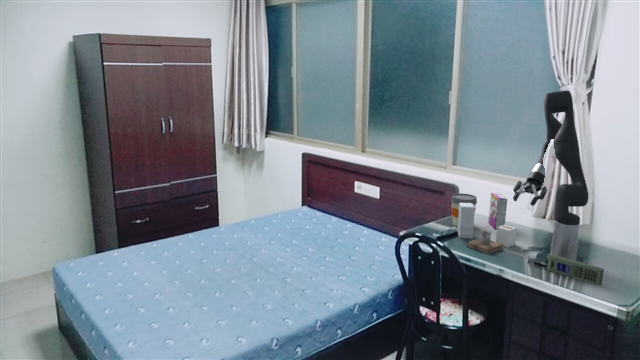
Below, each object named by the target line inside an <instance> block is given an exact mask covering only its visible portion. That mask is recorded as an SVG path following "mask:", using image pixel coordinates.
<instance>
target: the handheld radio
mask: <svg viewBox="0 0 640 360" xmlns="http://www.w3.org/2000/svg"><path fill="white" fill-rule="evenodd" d="M546 255H547V256H546V259H547V260H546V261H545V263H546V264H544V263H540V262H537V261H533V265H534V266H537V267H541V268H545V269H546V270H547V271H548V272H552V273H555V274H558V275H562V276H565V277H568V276H569V277H568V278H573V279H576V280H579V281H582V282H585V281H586V283H589V284H592V283H593V285H595V284H596V286H599V285H600V286H601V285H602V282H603V277H604V271H605V268H603V267H599V266H595V265H592V264H588V263H584V262H580V261H577V260H576V261H574V260H570V259H566V258H563V257H559V256H555V255H551V254H550V253H547V254H546Z"/></svg>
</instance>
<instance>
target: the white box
mask: <svg viewBox="0 0 640 360" xmlns="http://www.w3.org/2000/svg"><path fill="white" fill-rule="evenodd" d="M517 230H518V228H517V227H515V226H510V225H507V224H505V225H502V226H499V227H497V230H496V237H495V242H498V243H501V244H503V247H505V248H510V247H512V246H515V245H516V238H517Z"/></svg>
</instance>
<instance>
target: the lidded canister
mask: <svg viewBox="0 0 640 360" xmlns="http://www.w3.org/2000/svg"><path fill="white" fill-rule="evenodd" d="M477 197H478V196H476V195H473V194H470V193H462V192H461V193H453V194H452V195H451V200H450V201H451V206H450V207H451V209H450V211H451V215H452V224H453V225H454V226H455V227H458V216H459V203H473V205H474V207H475V210H476V208H477V207H476V204H477V201H478V199H477Z"/></svg>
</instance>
